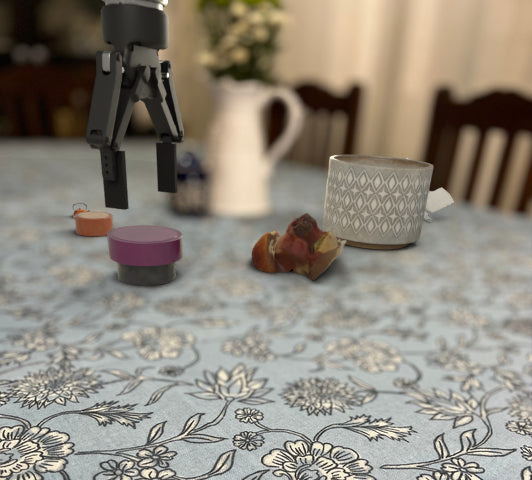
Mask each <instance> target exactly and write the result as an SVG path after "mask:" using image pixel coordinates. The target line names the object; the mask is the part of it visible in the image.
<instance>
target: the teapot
mask: <svg viewBox="0 0 532 480" xmlns="http://www.w3.org/2000/svg"><path fill="white" fill-rule="evenodd" d="M79 204H80V205H84V206H85V209H82V208H81V207H78V209H74V207H75V206H76V205H79ZM72 209H73V210H74V211H73V214H72V218H74V219H75V217H74V215H75V214H77V213H81V212H91V210H90V209H88V206H87V204H85V203H83V202H77V203H73V204H72ZM87 209H88V210H87Z"/></svg>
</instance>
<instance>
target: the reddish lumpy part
mask: <svg viewBox="0 0 532 480" xmlns="http://www.w3.org/2000/svg"><path fill="white" fill-rule="evenodd" d="M345 243H346V240H344V241H340V239H339V240H337V238H336V236H335V235H334V234H333V233H332V232H330V231H326V232H325V231H324V230H323V229H321V228H320V227H319V225H318V222H317V220H316V219H315V218H314V217H313V216H311V215H310V214H309V213H307V212H305V213H304V214H301V215H300V216H299V217H296V218H294V219H293V220H292V221H291V222H290V223H289V224H288V225H287V228H286V230H285V233H282V234H281V235H280V233H279V231H277V230H273V231H271V232H270V231H267V232H265V233H264V234H263V235H262V236H260V237H259V239H257V241H256V242H255V244H254V245H253V247H252V250H251V259H252V266H253V267H254V268H255V269H257V270H259V271H262V272H264V273H268V274H274V273H289V272H290V271H292V273H295V274H298V275H304V276H305V277H307V278H309V280H310V281H316V279H318V278H319V276H321V274H322V273H323V272H325V271H326V270H327V269H328V268H329V267H330V265H331V264H332V263H333V262H334V261H335V259H336V258H337V257H339V255H341V253H342V251H343V249H344V247H345V245H346V244H345Z"/></svg>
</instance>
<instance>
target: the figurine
mask: <svg viewBox="0 0 532 480" xmlns="http://www.w3.org/2000/svg"><path fill="white" fill-rule="evenodd" d="M406 159H410V160H412V159H411V158H409V157H406ZM454 203H455V201H454V198H453V197H452V196H451V194H450V193H449V192H448V191H447V190H445V188H443V187H439V188H437V189H435V190H433V191H431V190H429V193H428V198H427V203H426V208H425V213H424V215H429V213H428V212H430V213H436V212H437V211H439V210H442V209H444V208H445V207H448V206H450V205H452V204H454ZM427 211H428V212H427ZM429 216H430V215H429ZM423 221H425V222H428V221H429V222H431V223H432V222H433V221H434V219H433V220H431V219H425V218H423ZM429 222H428V223H429Z"/></svg>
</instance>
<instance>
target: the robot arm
mask: <svg viewBox="0 0 532 480" xmlns="http://www.w3.org/2000/svg"><path fill="white" fill-rule="evenodd" d="M101 1H102V2H103V3H104V4H105V5H103V6H102V7H101V9H100V18H101V30H102V41H103V43H104V44H106V45H107V46H110V47H113V50H96V53H95V68H96V69H95V70H96V71H95V72H96V74H95V80H94V85H93V91H92V95H91V96H92V97H91V102H90V103H91V104H90V108H89V114H88V121H87V126H86V132H85V142H86V144H88V145H89V147H90V148H91V149H92V150H98V151H99V155H100V166H101V167H100V168H101V176H102V183H103V195H104V207H105V208H107V209H116V210H123V211H126V210H129V209H130V206H129V193H128V192H129V191H128V176H127V163H126V162H127V160H126V159H127V158H126V151H125V150H120V149H121V146H122V143H123V140H124V137H125V135H126V131H127V128H128V125H129V122H130V120H131V116H132V114H133V111H134V107H135V104H136V103H138V102H139V101H140V102H143V104H144V106H145V109H146V111H147V113H148V116H149V118H150V121H151V123H152V125H153V128H154V130H155V133H156V135H157V137H158V140H159V141H158V142H155V153H156V156H155V157H156V177H157V192H159V193H166V194H167V193H168V194H177V193H178V160H177V159H178V158H177V157H178V155H177V154H178V153H177V144H183V143H184V140H185V137H184V136H185V130H184V125H183V120H182V115H181V110H180V106H179V102H178V101H179V100H178V97H177V92H176V86H175V83H174V74H173V72H174V71H173V64H172V60H168V59H167V60H164V59H160V57H159V56H160V55H159V52H160V51H164V50H167V49H168V48H169V46H170V23H169V21H170V18H169V17H170V16H169V15H168V13H167V12H166V11H165V10H163V9H164V8H166V7H167V5H168V4H169V1H168V0H101Z"/></svg>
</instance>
